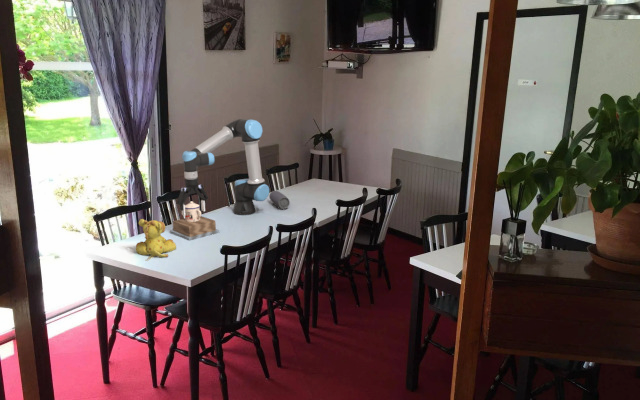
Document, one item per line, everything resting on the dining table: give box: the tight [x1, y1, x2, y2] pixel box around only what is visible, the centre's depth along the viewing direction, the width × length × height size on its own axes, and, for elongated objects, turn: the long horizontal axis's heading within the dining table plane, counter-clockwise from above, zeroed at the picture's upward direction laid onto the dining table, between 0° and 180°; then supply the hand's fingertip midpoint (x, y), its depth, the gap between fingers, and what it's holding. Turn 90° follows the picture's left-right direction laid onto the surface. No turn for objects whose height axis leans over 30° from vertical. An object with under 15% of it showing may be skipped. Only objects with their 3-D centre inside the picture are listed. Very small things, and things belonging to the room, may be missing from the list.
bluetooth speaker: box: [268, 190, 291, 210], centre depth 373 cm, size 23×9×10 cm, turn 22°
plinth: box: [169, 215, 220, 242], centre depth 313 cm, size 21×21×8 cm
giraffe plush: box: [135, 218, 177, 261], centre depth 277 cm, size 20×24×19 cm
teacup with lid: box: [184, 201, 202, 222], centre depth 311 cm, size 12×9×12 cm
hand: (193, 213), depth 311 cm, fingers open, 13 cm apart
